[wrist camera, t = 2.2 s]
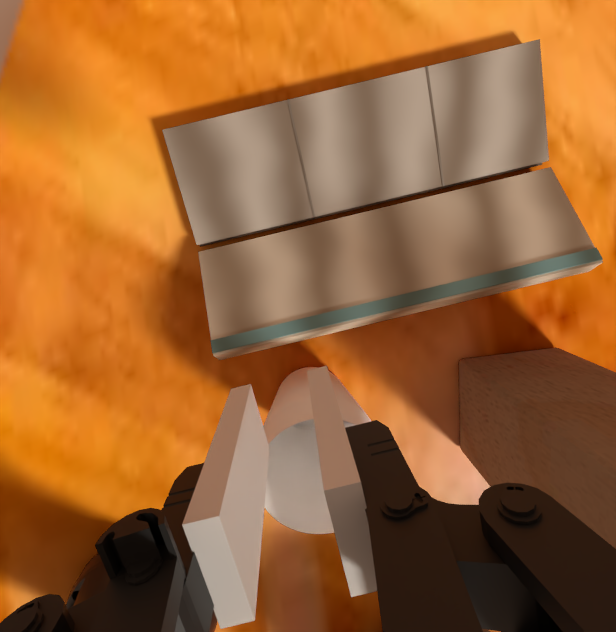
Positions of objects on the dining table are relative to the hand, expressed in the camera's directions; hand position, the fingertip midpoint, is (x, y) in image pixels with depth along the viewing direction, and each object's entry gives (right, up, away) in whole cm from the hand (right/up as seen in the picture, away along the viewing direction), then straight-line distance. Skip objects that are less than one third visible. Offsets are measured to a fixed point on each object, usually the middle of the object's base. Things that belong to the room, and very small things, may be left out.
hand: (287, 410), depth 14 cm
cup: (+1, -4, +22) cm, 23 cm away
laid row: (+5, +17, +17) cm, 25 cm away
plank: (+7, +8, +17) cm, 20 cm away
